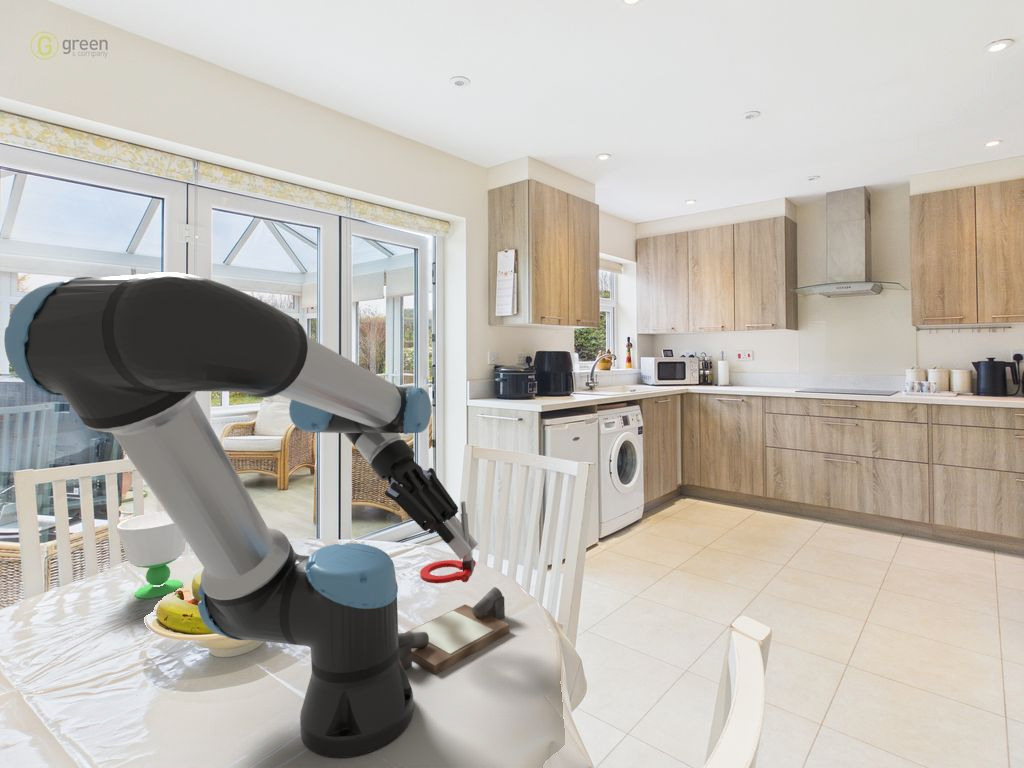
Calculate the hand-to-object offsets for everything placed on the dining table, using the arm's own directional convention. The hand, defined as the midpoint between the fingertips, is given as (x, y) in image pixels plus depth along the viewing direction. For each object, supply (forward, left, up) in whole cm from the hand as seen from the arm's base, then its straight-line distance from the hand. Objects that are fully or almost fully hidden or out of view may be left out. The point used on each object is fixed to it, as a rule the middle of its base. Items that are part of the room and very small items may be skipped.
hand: (469, 551), depth 93 cm
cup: (-31, +69, -16) cm, 78 cm away
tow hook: (-2, +3, -4) cm, 6 cm away
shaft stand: (-2, +3, -16) cm, 17 cm away
